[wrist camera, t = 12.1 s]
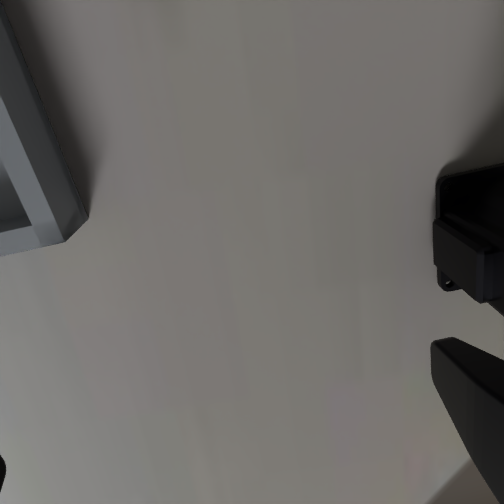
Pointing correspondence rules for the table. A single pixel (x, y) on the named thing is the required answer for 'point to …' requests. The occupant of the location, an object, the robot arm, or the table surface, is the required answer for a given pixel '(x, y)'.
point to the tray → (30, 162)
